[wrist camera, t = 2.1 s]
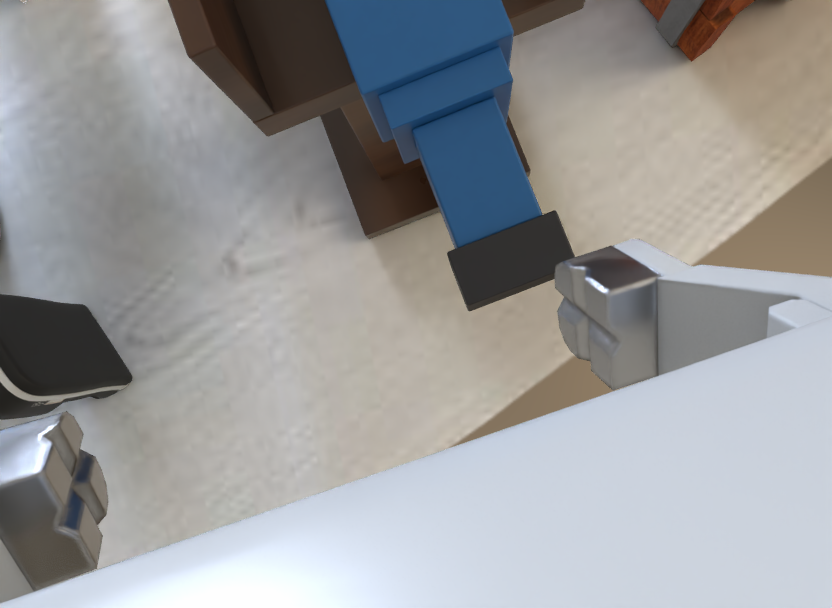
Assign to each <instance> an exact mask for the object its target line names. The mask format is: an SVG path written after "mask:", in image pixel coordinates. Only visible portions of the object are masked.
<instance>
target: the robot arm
mask: <svg viewBox="0 0 832 608" xmlns="http://www.w3.org/2000/svg"><path fill="white" fill-rule="evenodd" d="M0 238H1V226H0ZM554 278H555V288H556V289H557V290H558V291H559V292H560V293H561V294H562V295H563V296H564V299H563V301H562V303H561V305H560V306H559V308H558V310H557V312H558V320H559V328H560V330H561V333H562V336H563V339H564V342H565V343H566V345H567V346H568V348H569V349H570V351H571V352H572V353H573V354H574V355H575V356H576V357H577V358H579V359H583V360H587V361H591V371H592V372H593V373H594V374H595V375H597V376H598V377H599V378H600V379H601V380H602V381H603V382H604V383H605V384H606V385H607V386H608V387H610V388H611V389H612V390H615V389H619V388H621V387H625V386H628V385H631V384H634V383H636V384H634V385H631V386H628V387H625V388H622V389H619V390H616V391H613V392H611V393H608V394H605V395H602V396H599V397H596V398H593V399H590V400H588V401H584V402H582V403H579V404H576V405H573V406H570V407H567V408H564V409H561V410H558V411H556V412H553V413H550V414H547V415H544V416H541V417H539V418H535V419H533V420H530V421H527V422H524V423H521V424H518V425H515V426H513V427H509V428H506V429H504V430H501V431H498V432H495V433H492V434H489V435H486V436H484V437H480V438H478V439H475V440H472V441H469V442H466V443H463V444H460V445H457V446H454V447H452V448H449V449H446V450H443V451H440V452H437V453H434V454H431V455H428V456H425V457H423V458H420V459H417V460H414V461H411V462H408V463H405V464H402V465H399V466H397V467H394V468H391V469H388V470H385V471H382V472H379V473H376V474H373V475H370V476H368V477H365V478H362V479H359V480H356V481H353V482H350V483H347V484H344V485H342V486H339V487H336V488H333V489H330V490H327V491H324V492H321V493H318V494H315V495H313V496H310V497H307V498H304V499H301V500H298V501H295V502H292V503H289V504H287V505H284V506H281V507H278V508H275V509H272V510H269V511H266V512H263V513H260V514H258V515H255V516H252V517H249V518H246V519H243V520H240V521H237V522H234V523H232V524H229V525H226V526H223V527H220V528H217V529H214V530H211V531H208V532H205V533H203V534H200V535H197V536H194V537H191V538H188V539H185V540H182V541H179V542H177V543H174V544H171V545H168V546H165V547H162V548H159V549H156V550H153V551H150V552H148V553H145V554H142V555H139V556H136V557H133V558H130V559H127V560H124V561H122V562H119V563H116V564H113V565H110V566H107V567H104V568H101V569H98V570H95V571H93V572H90V573H87V574H84V573H86V572H89V571H92V570H94V569H97V564H98V559H99V553H100V548H101V542H102V537H103V535H102V533H101V531H100V530H99V528H98V526H97V525H98V524H99V523H100V521H101V520H102V519H103V518H104V517H105V516H106V514H107V507H108V495H107V486H106V481H105V478H104V475H103V472H102V469H101V467H100V465H99V463H98V461H97V459H96V457H95V456H93V455H91V454H89V453H87V452H85V451H83V450H81V449H80V446H81V442H82V438H83V432H82V430H81V428H80V427H79V425H78V423H77V421H76V419H75V418H74V416H72V415H71V414H70V413H68V412H67V411H66V412H62V413H59V414H55V415H52V416H48V417H45V418H41V419H38V420H34V421H30V422H27V423H23V424H20V425H16V426H13V427H9V428H6V429H2V430H0V608H832V277H825V276H815V275H805V274H793V273H784V272H772V271H762V270H752V269H741V268H731V267H721V266H709V265H698V266H694V267H692V266H690V265H688V264H686V263H684V262H682V261H680V260H678V259H677V258H675V257H673V256H671V255H669V254H667V253H665V252H663V251H661V250H659V249H658V248H656V247H654V246H652V245H650V244H648V243H646V242H644V241H642V240H640V239H630V240H628V241H625V242H622V243H619V244H616V245H614V246H609V247H606V248H603V249H599V250H596V251H593V252H590V253H587V254H584V255H581V256H578V257H575V258H572V259H569V260H566V261H563V262H561V263H559V264H557V265H556V267H555V274H554ZM653 377H654V378H653ZM650 378H651V379H650ZM647 379H648V380H647ZM644 380H645V381H644ZM641 381H642V382H641ZM638 382H639V383H638ZM81 574H84V575H81ZM78 575H81V576H78ZM75 576H78V577H75ZM73 577H75V578H73ZM70 578H72V579H70ZM67 579H69V580H67ZM65 580H67V581H65ZM62 581H64V582H62ZM59 582H61V583H59ZM57 583H58V584H57ZM54 584H55V585H54ZM51 585H52V586H51Z"/></svg>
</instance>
